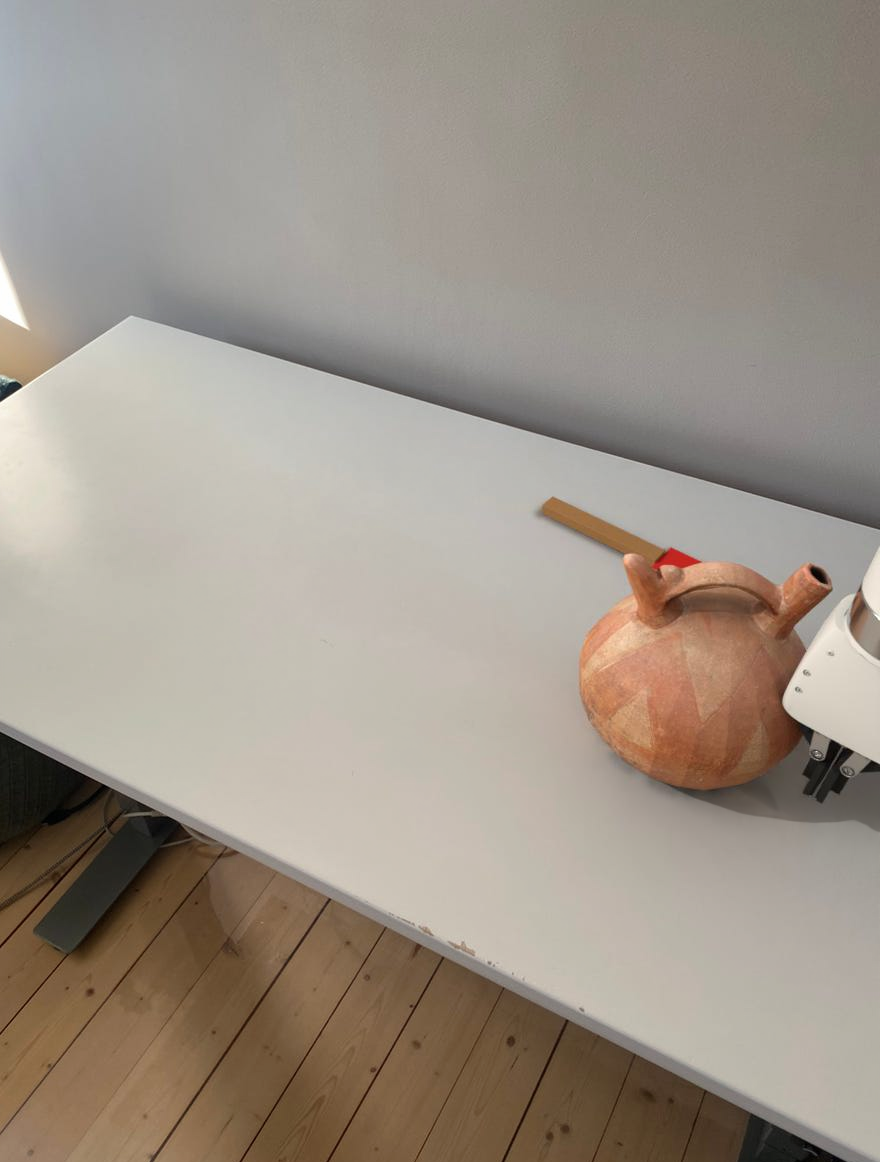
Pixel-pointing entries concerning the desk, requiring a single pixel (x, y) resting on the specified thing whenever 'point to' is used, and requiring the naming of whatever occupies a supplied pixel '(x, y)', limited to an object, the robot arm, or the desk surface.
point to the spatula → (614, 535)
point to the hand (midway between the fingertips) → (819, 786)
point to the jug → (698, 670)
